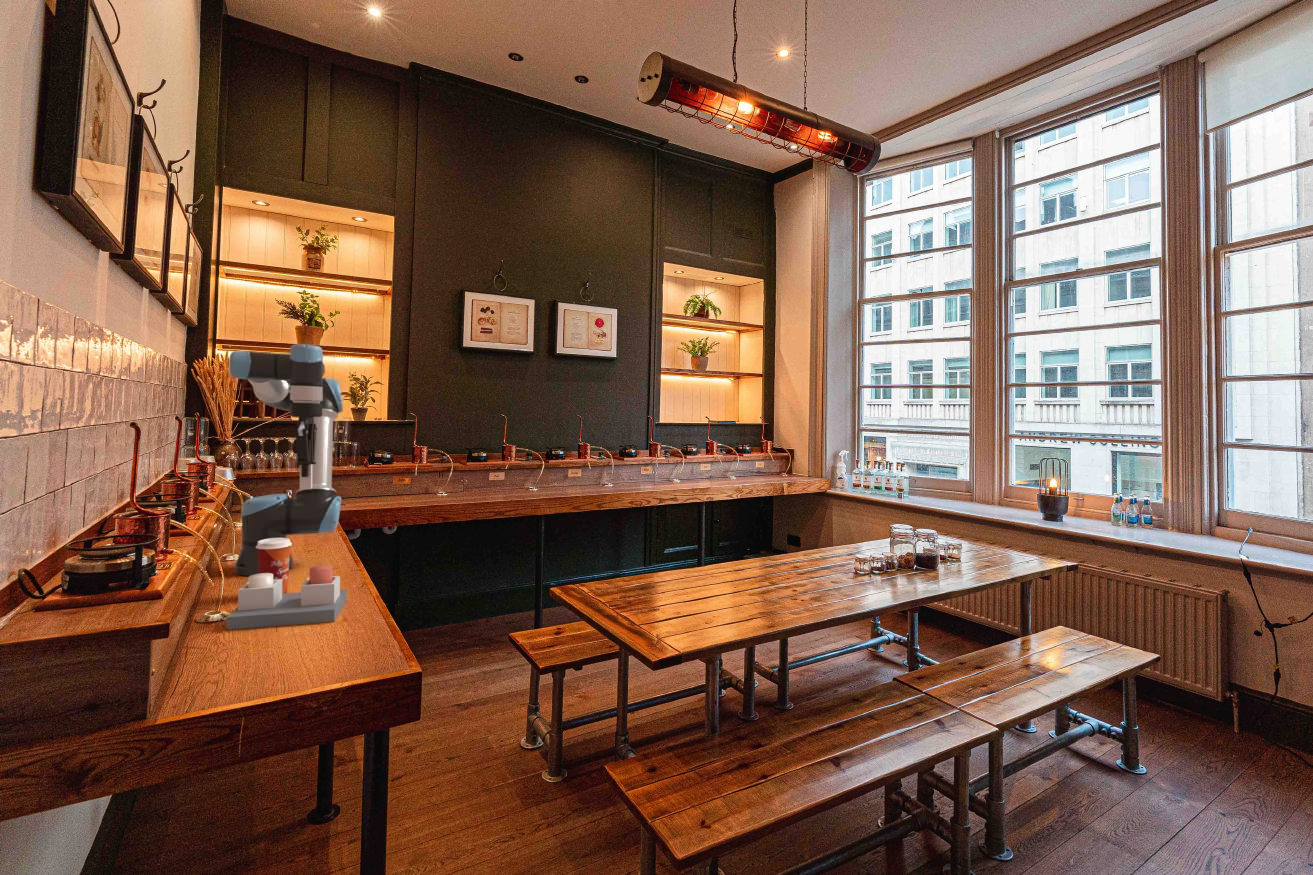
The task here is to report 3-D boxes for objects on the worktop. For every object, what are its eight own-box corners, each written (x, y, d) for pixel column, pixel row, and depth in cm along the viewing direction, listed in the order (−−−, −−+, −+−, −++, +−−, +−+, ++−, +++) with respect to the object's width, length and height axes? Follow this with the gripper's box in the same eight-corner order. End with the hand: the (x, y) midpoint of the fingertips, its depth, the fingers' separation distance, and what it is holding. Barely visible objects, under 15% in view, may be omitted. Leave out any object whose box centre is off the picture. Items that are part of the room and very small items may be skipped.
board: (250, 607, 147) (250, 576, 147) (346, 600, 154) (347, 571, 154) (226, 629, 132) (226, 595, 131) (334, 621, 139) (334, 588, 139)
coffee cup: (278, 599, 153) (278, 544, 152) (248, 598, 153) (248, 543, 152) (298, 590, 161) (298, 537, 161) (269, 589, 161) (270, 536, 161)
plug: (252, 601, 142) (252, 573, 142) (275, 599, 144) (275, 572, 144) (245, 608, 138) (245, 579, 137) (269, 606, 139) (269, 578, 139)
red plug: (312, 592, 146) (312, 565, 146) (334, 591, 148) (334, 564, 148) (307, 599, 142) (307, 571, 141) (330, 597, 143) (330, 569, 143)
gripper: (297, 402, 161) (296, 485, 162) (283, 401, 148) (283, 492, 149) (327, 402, 163) (326, 485, 164) (316, 402, 151) (315, 491, 152)
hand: (306, 488), depth 157 cm, fingers closed
